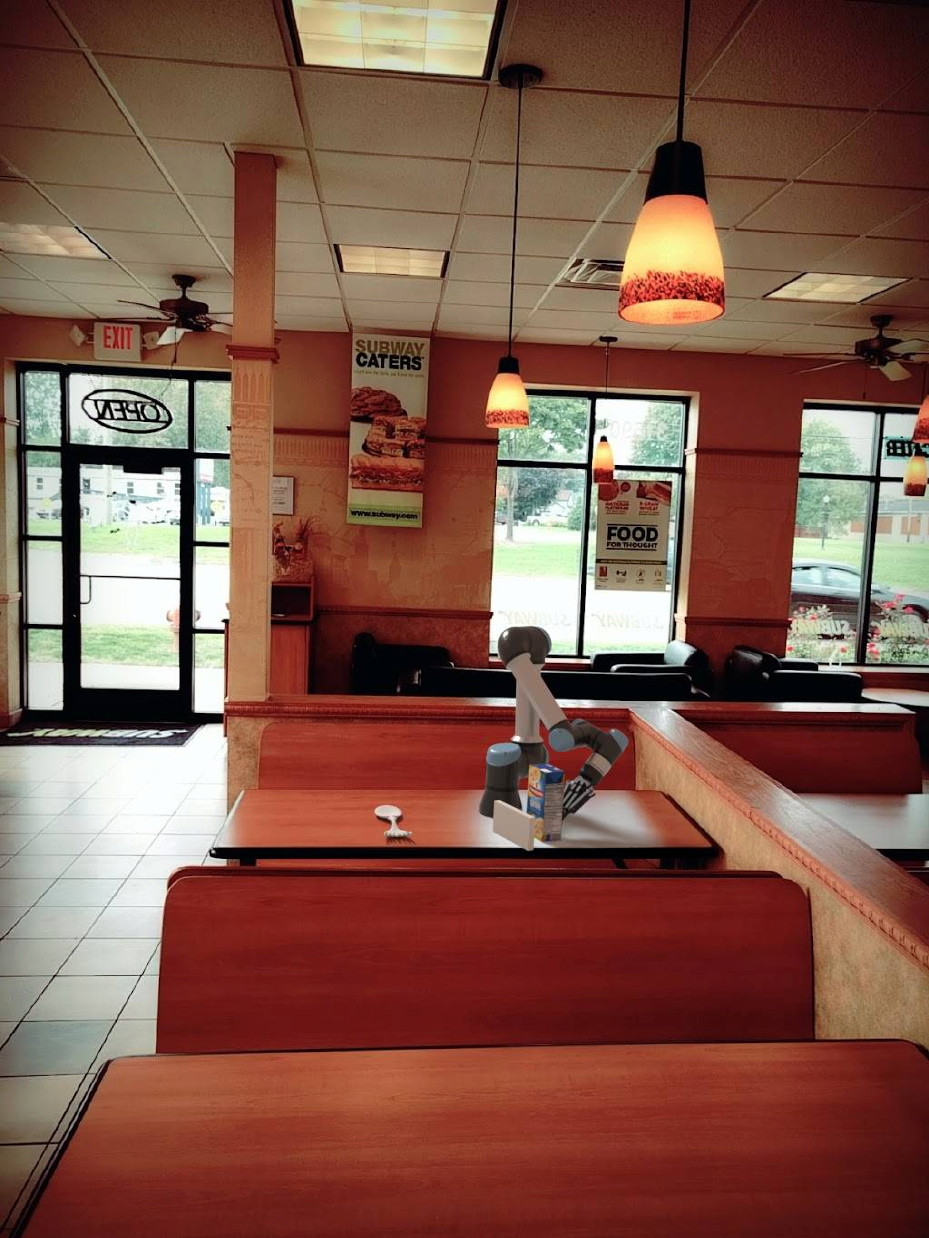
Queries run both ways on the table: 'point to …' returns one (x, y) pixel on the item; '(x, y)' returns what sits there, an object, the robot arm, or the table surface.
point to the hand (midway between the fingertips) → (551, 826)
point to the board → (514, 825)
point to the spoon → (392, 815)
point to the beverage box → (546, 800)
